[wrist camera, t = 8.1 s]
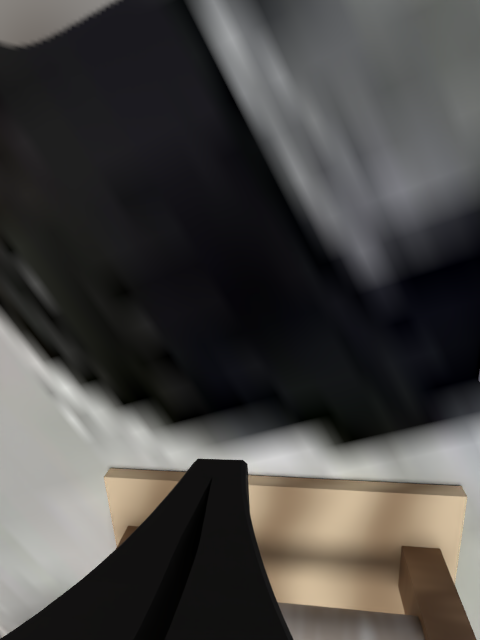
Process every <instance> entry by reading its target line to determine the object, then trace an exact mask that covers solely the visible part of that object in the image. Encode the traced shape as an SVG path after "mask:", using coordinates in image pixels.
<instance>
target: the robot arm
mask: <svg viewBox="0 0 480 640" xmlns="http://www.w3.org/2000/svg"><path fill="white" fill-rule="evenodd" d="M479 382H480V371H479ZM0 640H294V639H293V637H292V635H291V633H290V631H289V628H288V626H287V624H286V622H285V619H284V617H283V615H282V612H281V610H280V607H279V605H278V602H277V600H276V597H275V595H274V592H273V590H272V587H271V584H270V581H269V578H268V576H267V573H266V570H265V567H264V564H263V561H262V558H261V554H260V551H259V548H258V544H257V541H256V537H255V533H254V529H253V525H252V520H251V516H250V503H249V485H248V467H247V463H245V462H244V461H243V460H219V459H197V460H196V461H195V462H194V463H193V465H192V466H191V467H190V468H189V470H188V471H187V472H186V473H185V475H184V476H183V477H182V478H181V479H180V481H179V482H178V483H177V484H176V486H175V487H174V488H173V489H172V490H171V491H170V493H169V494H168V495H167V496H166V497H165V498H164V500H163V501H162V502H161V503H160V504H159V505H158V506H157V507H156V509H155V510H154V511H153V512H152V513H151V514H150V515H149V516H148V517H147V519H146V520H145V521H144V522H143V523H142V524H141V525H140V526H139V527H138V528H137V529H136V530H135V531H134V532H133V533H132V534H131V535H130V536H129V537H128V538H127V539H126V540H125V541H124V542H123V543H122V544H121V545H120V546H119V547H118V548H117V549H116V550H115V551H114V552H113V553H111V554H110V555H109V556H108V557H107V558H106V559H105V560H104V561H103V562H102V563H100V564H99V565H98V566H97V567H96V568H95V569H94V570H92V571H91V572H90V573H89V574H88V575H87V576H85V577H84V578H83V579H82V580H80V581H79V582H78V583H77V584H76V585H74V586H73V587H72V588H70V589H69V590H68V591H66V592H65V593H64V594H63V595H61V596H60V597H59V598H57V599H56V600H55V601H53V602H52V603H51V604H50V605H48V606H47V607H46V608H44V609H43V610H42V611H40V612H39V613H38V614H36V615H35V616H33V617H32V618H30V619H29V620H28V621H26V622H25V623H23V624H22V625H20V626H19V627H17V628H16V629H15V630H13V631H12V632H10V633H9V634H7V635H6V636H4V637H3V638H1V639H0Z"/></svg>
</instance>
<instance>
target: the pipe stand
mask: <svg viewBox="0 0 480 640" xmlns="http://www.w3.org/2000/svg"><path fill="white" fill-rule="evenodd" d="M185 473H186V472H174V471H154V470H134V469H115V468H110V469H109V470H108V472H107V473H106V475H105V476H104V480H105V486H106V491H107V496H108V502H109V507H110V513H111V518H112V523H113V529H114V534H115V539H116V545H117V548H118V547H119V546H120V545H121V544H122V543H123V542H124V541H125V540H126V539H127V538H128V537H129V536H130V535H131V534H132V533H133V532H134V531H135V530H136V529H137V528H138V527H139V526H140V525H141V524H142V523H143V522H144V521H145V520H146V519H147V517H148V516H149V515H150V514H151V513H152V512H153V511H154V510H155V509H156V507H157V506H158V505H159V504H160V503H161V502H162V501H163V500H164V498H165V497H166V496H167V495H168V494H169V493H170V491H171V490H172V489H173V488H174V487H175V486H176V484H177V483H178V482H179V481H180V479H181V478H182V477H183V476H184V475H185ZM248 485H249V503H250V516H251V520H252V525H253V529H254V533H255V537H256V541H257V544H258V548H259V551H260V554H261V558H262V561H263V564H264V567H265V570H266V573H267V576H268V578H269V581H270V584H271V587H272V590H273V592H274V595H275V597H276V600H277V602H278V605H279V607H280V610H281V612H282V615H283V617H284V619H285V622H286V624H287V626H288V628H289V631H290V633H291V635H292V637H293V639H294V640H476V637H475V635H474V632H473V630H472V627H471V625H470V622H469V620H468V617H467V615H466V612H465V610H464V607H463V605H462V602H461V600H460V597H459V595H458V592H457V590H456V587H455V579H456V572H457V565H458V558H459V551H460V544H461V537H462V530H463V523H464V516H465V510H466V503H467V495H466V494H465V492H464V490H463V488H462V486H449V485H430V484H410V483H390V482H371V481H351V480H331V479H311V478H292V477H272V476H252V475H248ZM117 548H116V549H117Z"/></svg>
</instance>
